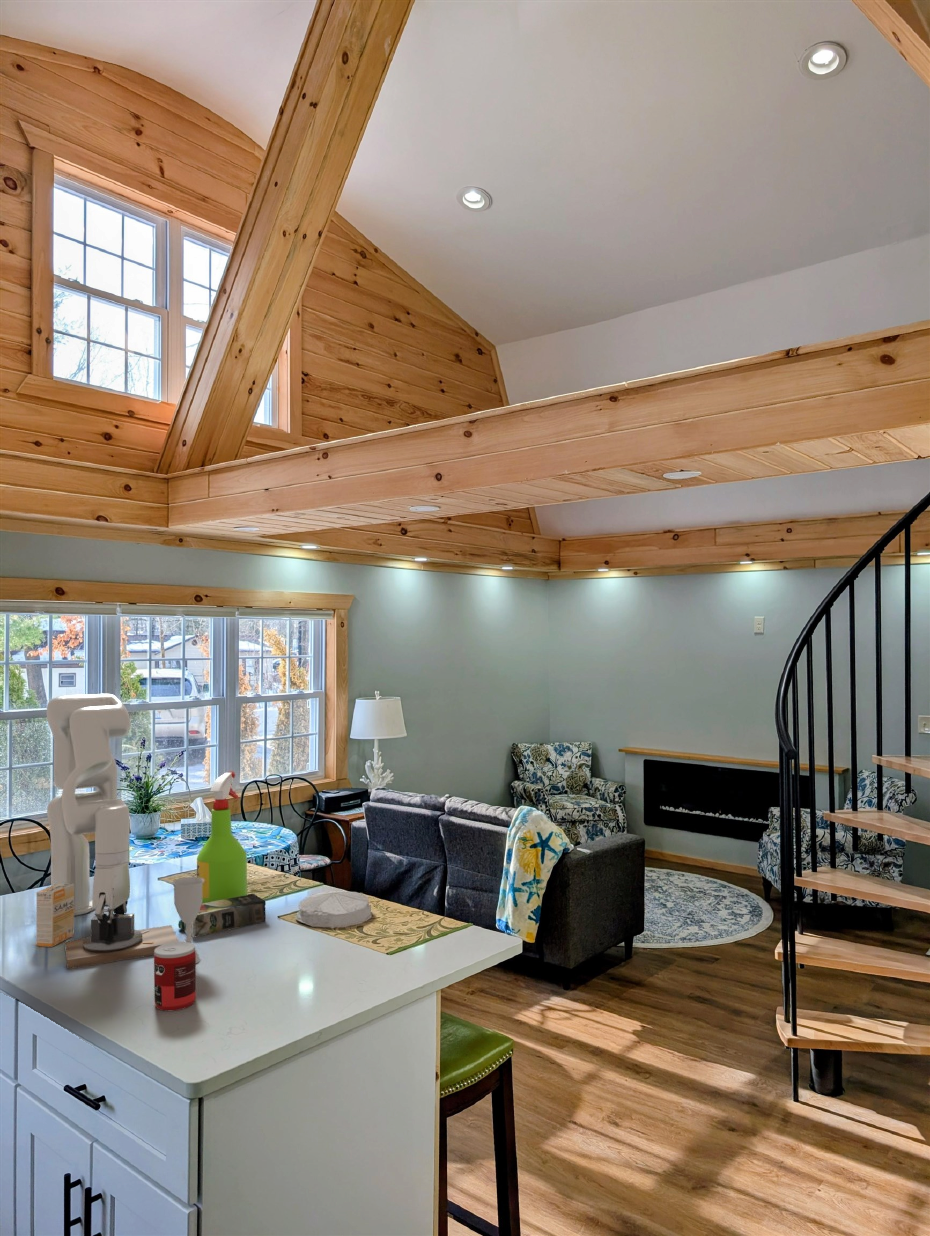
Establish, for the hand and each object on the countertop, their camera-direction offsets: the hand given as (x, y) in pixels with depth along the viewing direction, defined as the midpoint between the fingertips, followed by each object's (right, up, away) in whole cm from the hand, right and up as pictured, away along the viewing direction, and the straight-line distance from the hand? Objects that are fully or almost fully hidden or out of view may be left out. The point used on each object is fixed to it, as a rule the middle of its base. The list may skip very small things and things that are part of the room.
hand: (113, 934), depth 204 cm
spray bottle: (+15, -5, +43) cm, 45 cm away
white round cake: (+49, -4, +24) cm, 54 cm away
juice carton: (+21, -5, +18) cm, 28 cm away
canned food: (+25, -3, -30) cm, 39 cm away
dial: (0, -2, 0) cm, 2 cm away
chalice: (+20, -4, -7) cm, 22 cm away
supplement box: (-17, -5, +8) cm, 20 cm away
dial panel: (+2, -4, +1) cm, 4 cm away
